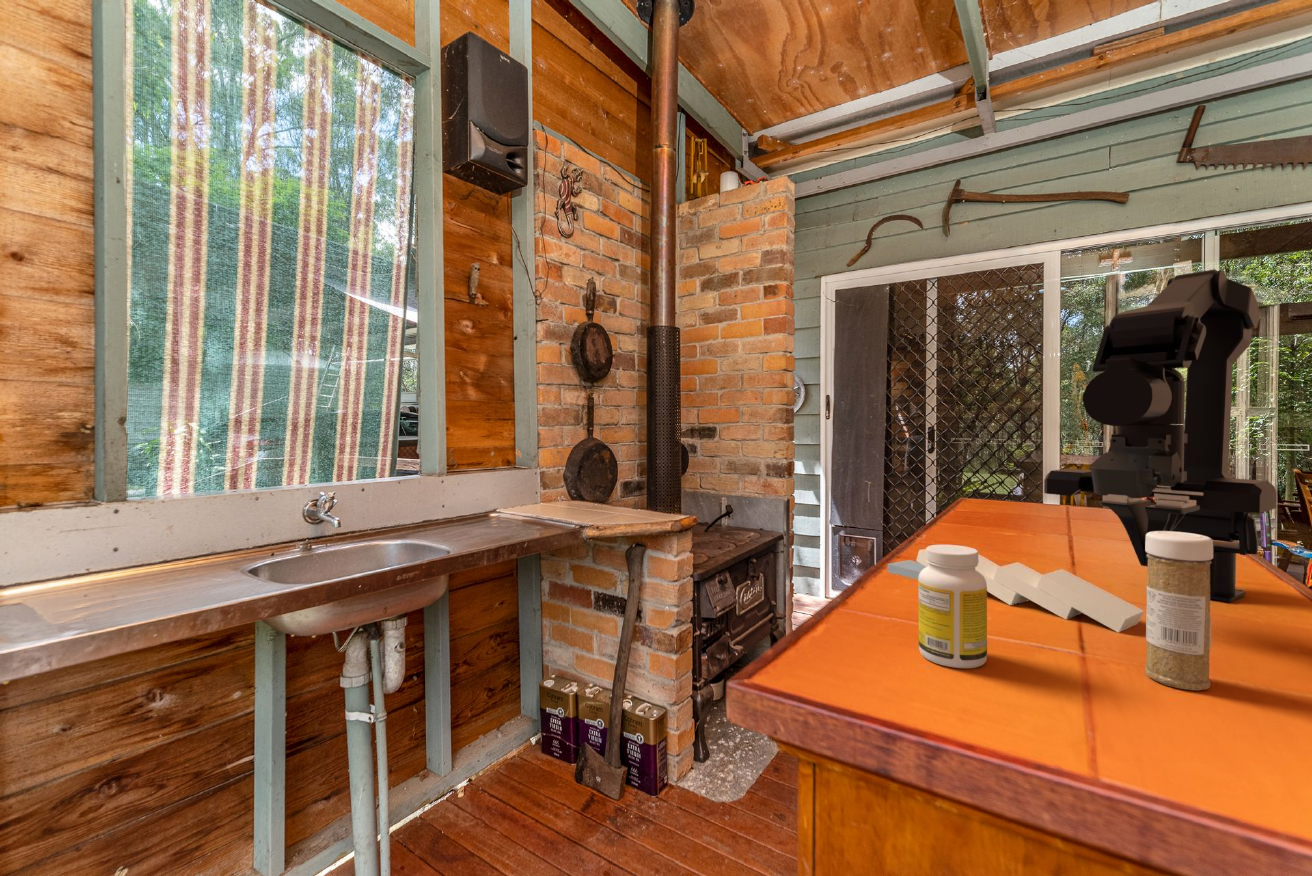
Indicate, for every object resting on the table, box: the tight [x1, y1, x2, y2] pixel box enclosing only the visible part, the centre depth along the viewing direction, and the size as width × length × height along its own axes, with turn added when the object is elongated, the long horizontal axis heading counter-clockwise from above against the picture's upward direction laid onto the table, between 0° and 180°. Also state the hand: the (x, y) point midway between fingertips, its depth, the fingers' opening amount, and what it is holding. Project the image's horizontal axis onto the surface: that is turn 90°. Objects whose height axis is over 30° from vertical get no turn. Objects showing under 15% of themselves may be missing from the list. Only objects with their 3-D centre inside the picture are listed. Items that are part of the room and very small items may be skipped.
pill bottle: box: [917, 544, 988, 669], centre depth 59 cm, size 6×6×11 cm
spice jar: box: [1144, 531, 1214, 691], centre depth 53 cm, size 5×5×13 cm
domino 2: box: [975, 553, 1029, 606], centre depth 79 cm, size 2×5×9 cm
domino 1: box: [887, 559, 926, 579], centre depth 88 cm, size 2×5×9 cm
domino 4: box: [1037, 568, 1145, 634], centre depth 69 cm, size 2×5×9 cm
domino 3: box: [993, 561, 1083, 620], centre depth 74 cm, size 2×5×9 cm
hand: (1147, 565), depth 64 cm, fingers closed
